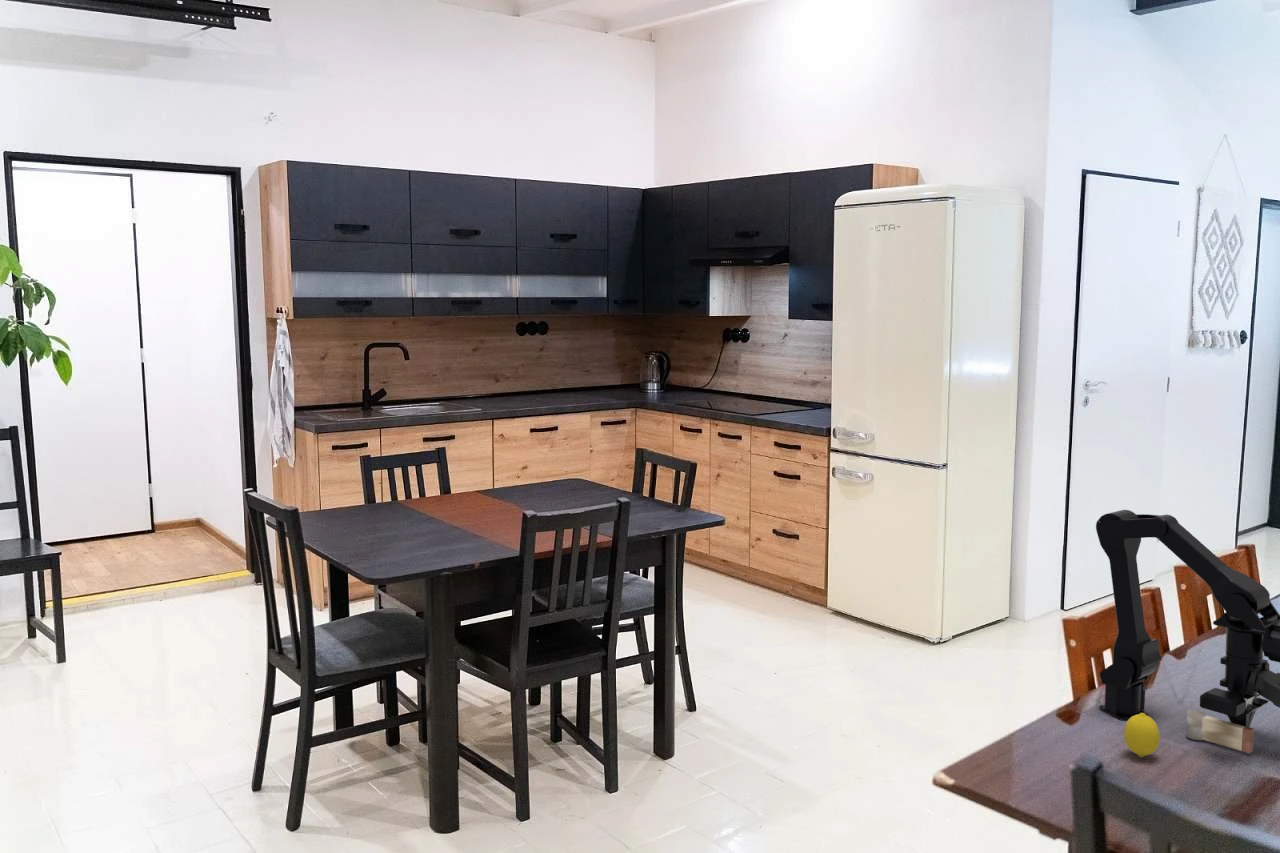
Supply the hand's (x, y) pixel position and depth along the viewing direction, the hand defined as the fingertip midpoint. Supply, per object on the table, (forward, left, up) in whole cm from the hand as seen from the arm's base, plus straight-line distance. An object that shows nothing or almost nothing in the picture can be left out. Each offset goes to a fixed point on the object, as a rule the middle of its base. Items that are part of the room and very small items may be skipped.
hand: (1241, 738), depth 184 cm
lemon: (-20, +1, -2) cm, 20 cm away
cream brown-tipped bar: (-3, +2, -1) cm, 4 cm away
